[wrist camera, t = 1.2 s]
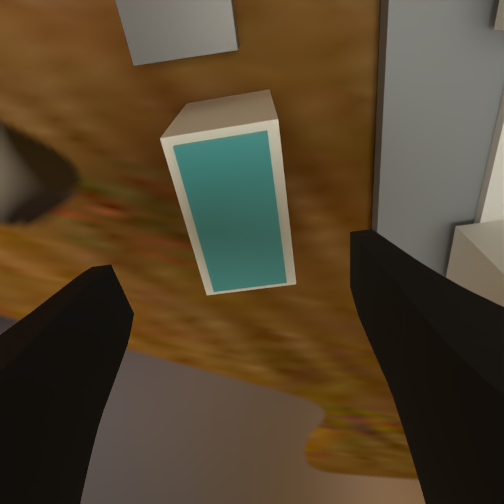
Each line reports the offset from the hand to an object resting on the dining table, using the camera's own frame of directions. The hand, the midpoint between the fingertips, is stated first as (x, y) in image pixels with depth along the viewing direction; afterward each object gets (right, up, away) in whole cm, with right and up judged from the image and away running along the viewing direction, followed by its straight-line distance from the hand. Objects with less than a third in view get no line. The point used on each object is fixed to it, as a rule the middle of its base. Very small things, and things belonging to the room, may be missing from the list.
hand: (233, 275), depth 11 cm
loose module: (0, +5, +8) cm, 10 cm away
